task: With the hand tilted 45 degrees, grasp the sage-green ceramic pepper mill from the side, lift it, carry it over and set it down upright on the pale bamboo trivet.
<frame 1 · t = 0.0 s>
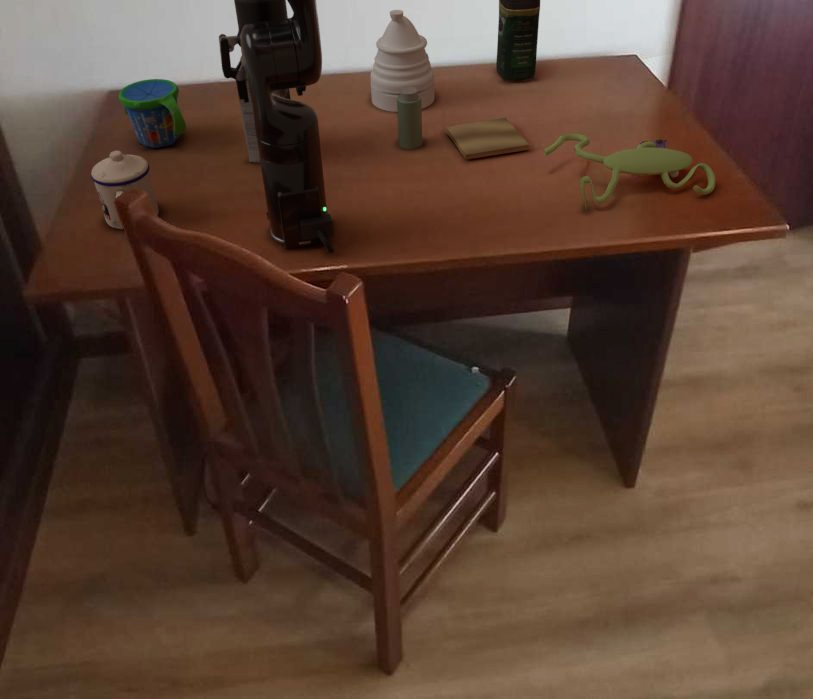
hand: (273, 97, 138), 17 cm above the table, tool pointing down, fingers open, 8 cm apart
teacup with lid: (132, 222, 143), on the table
honey pot: (403, 99, 177), on the table
figurine: (623, 181, 149), on the table
snack cup: (160, 141, 166), on the table
trivet: (486, 142, 161), on the table
coffee jar: (515, 75, 185), on the table
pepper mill: (410, 143, 161), on the table
coffee box: (273, 153, 161), on the table
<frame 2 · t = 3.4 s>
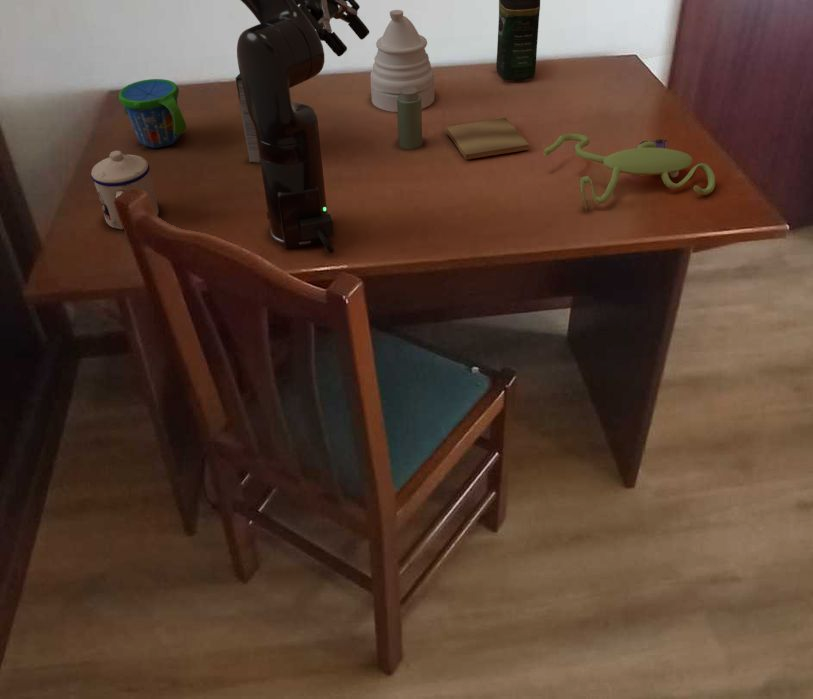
hand: (354, 44, 154), 17 cm above the table, tool tilted 45°, fingers open, 8 cm apart
nothing on the table moved.
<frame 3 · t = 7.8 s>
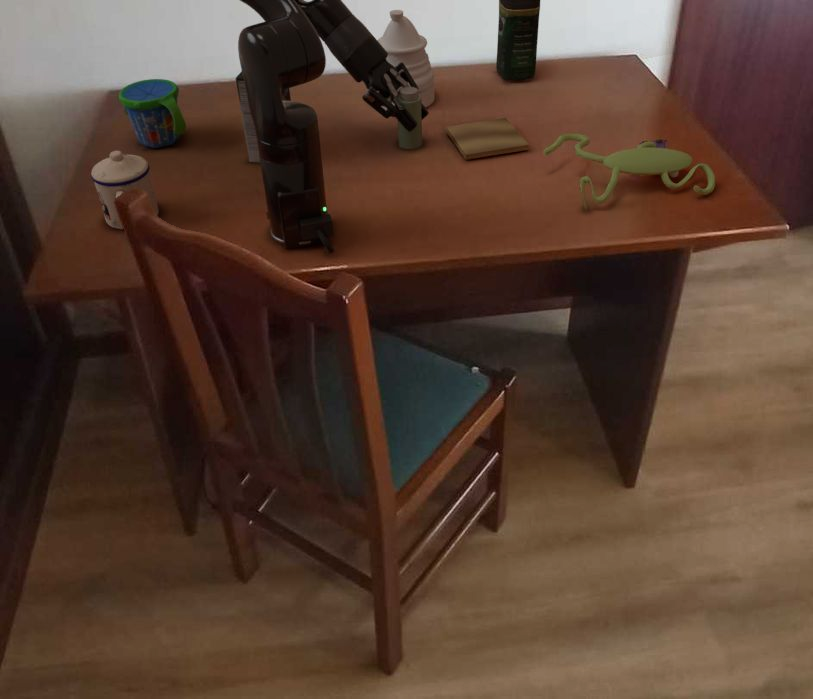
hand: (419, 122, 158), 5 cm above the table, tool tilted 45°, fingers closed on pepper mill, 4 cm apart
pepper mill: (410, 143, 161), on the table, touching gripper
everything else where it was.
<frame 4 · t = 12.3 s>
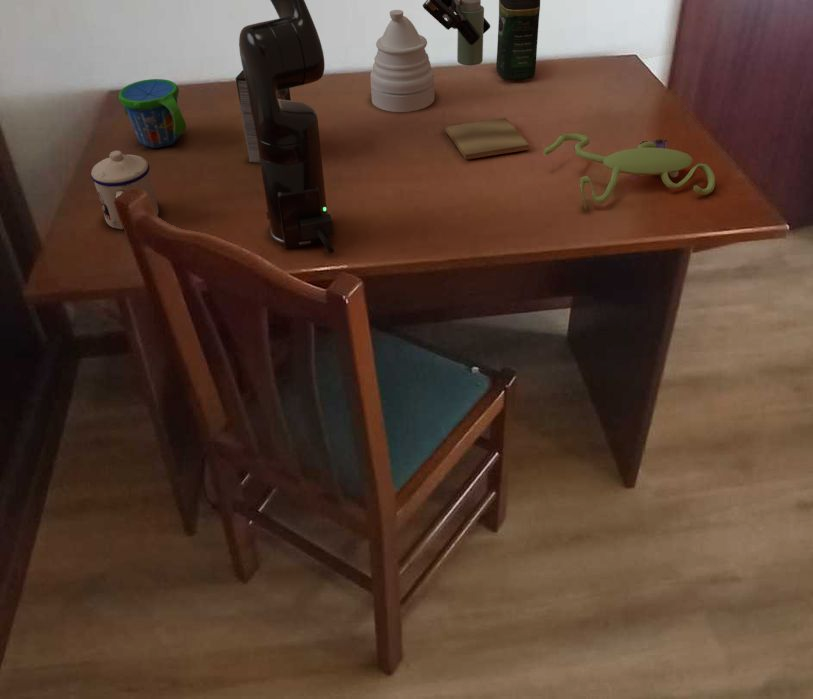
hand: (480, 35, 148), 20 cm above the table, tool tilted 45°, fingers closed on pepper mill, 4 cm apart
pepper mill: (469, 60, 151), point 15 cm above the table, touching gripper
everything else where it was.
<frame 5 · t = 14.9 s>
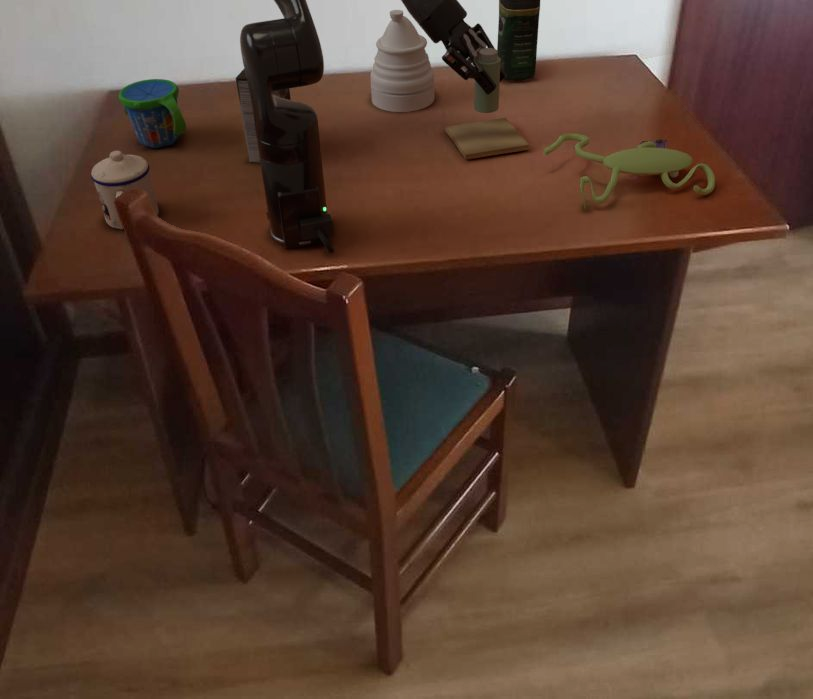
hand: (497, 85, 153), 11 cm above the table, tool tilted 45°, fingers closed on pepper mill, 4 cm apart
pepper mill: (486, 107, 157), point 7 cm above the table, touching gripper
everything else where it was.
when the fingers open (6 cm above the table, at t = 16.8 s): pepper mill stays where it is, resting on trivet.
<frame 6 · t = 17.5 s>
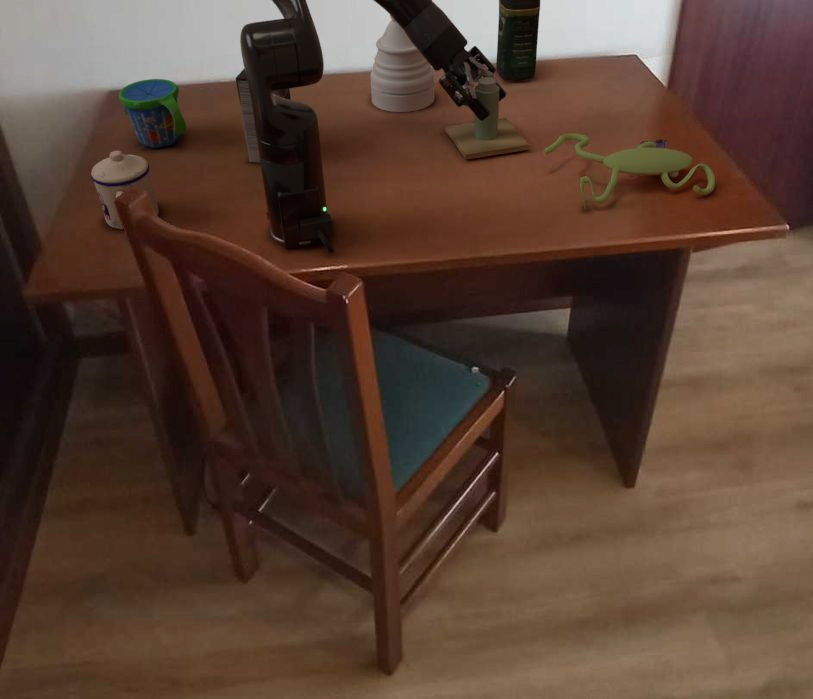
hand: (494, 108, 156), 7 cm above the table, tool tilted 45°, fingers open, 8 cm apart
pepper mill: (485, 135, 160), point 1 cm above the table, touching trivet
everything else where it was.
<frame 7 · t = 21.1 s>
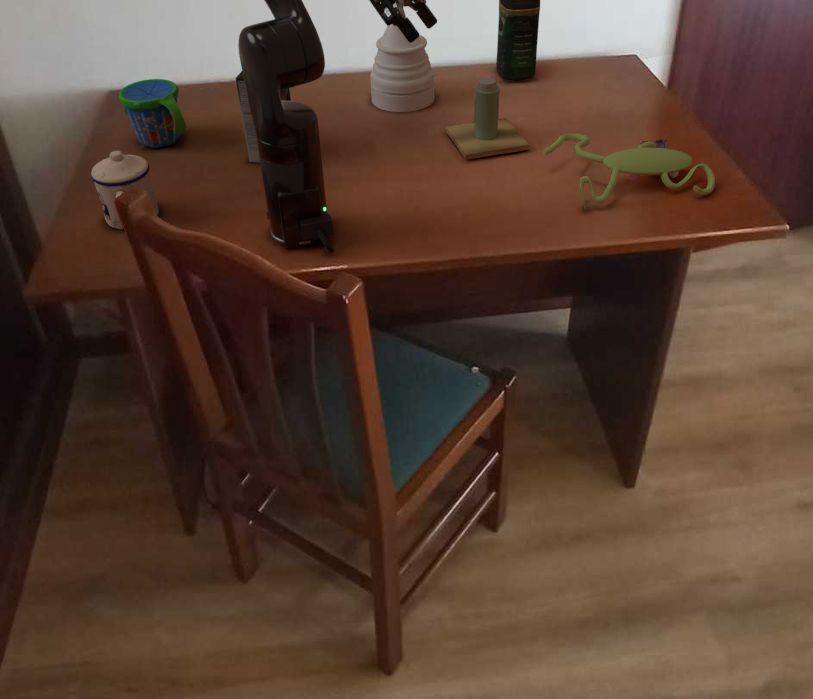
hand: (424, 32, 152), 19 cm above the table, tool tilted 40°, fingers open, 8 cm apart
nothing on the table moved.
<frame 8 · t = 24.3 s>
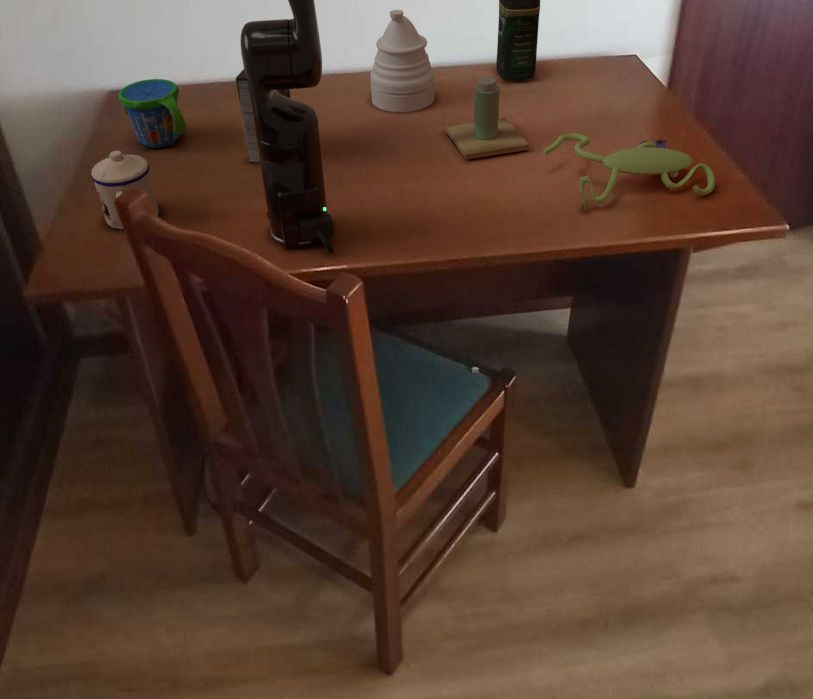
nothing on the table moved.
at the end: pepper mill 0.2 cm off-centre on the trivet, point 1.4 cm above the trivet's base; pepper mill tilted 0°; the gripper is holding nothing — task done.
